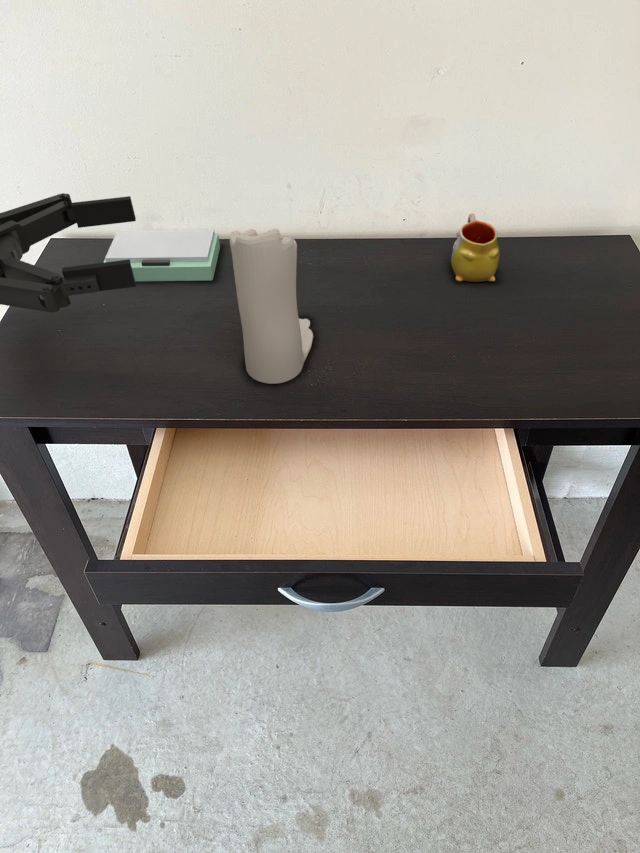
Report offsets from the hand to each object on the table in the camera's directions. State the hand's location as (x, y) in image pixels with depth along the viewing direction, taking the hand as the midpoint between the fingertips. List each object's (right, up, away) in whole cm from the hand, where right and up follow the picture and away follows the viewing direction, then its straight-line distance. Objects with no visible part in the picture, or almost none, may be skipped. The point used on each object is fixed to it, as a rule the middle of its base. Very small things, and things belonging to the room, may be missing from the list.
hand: (133, 238), depth 71 cm
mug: (+43, +4, +28) cm, 52 cm away
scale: (-4, +5, +30) cm, 30 cm away
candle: (+15, -10, +15) cm, 23 cm away
